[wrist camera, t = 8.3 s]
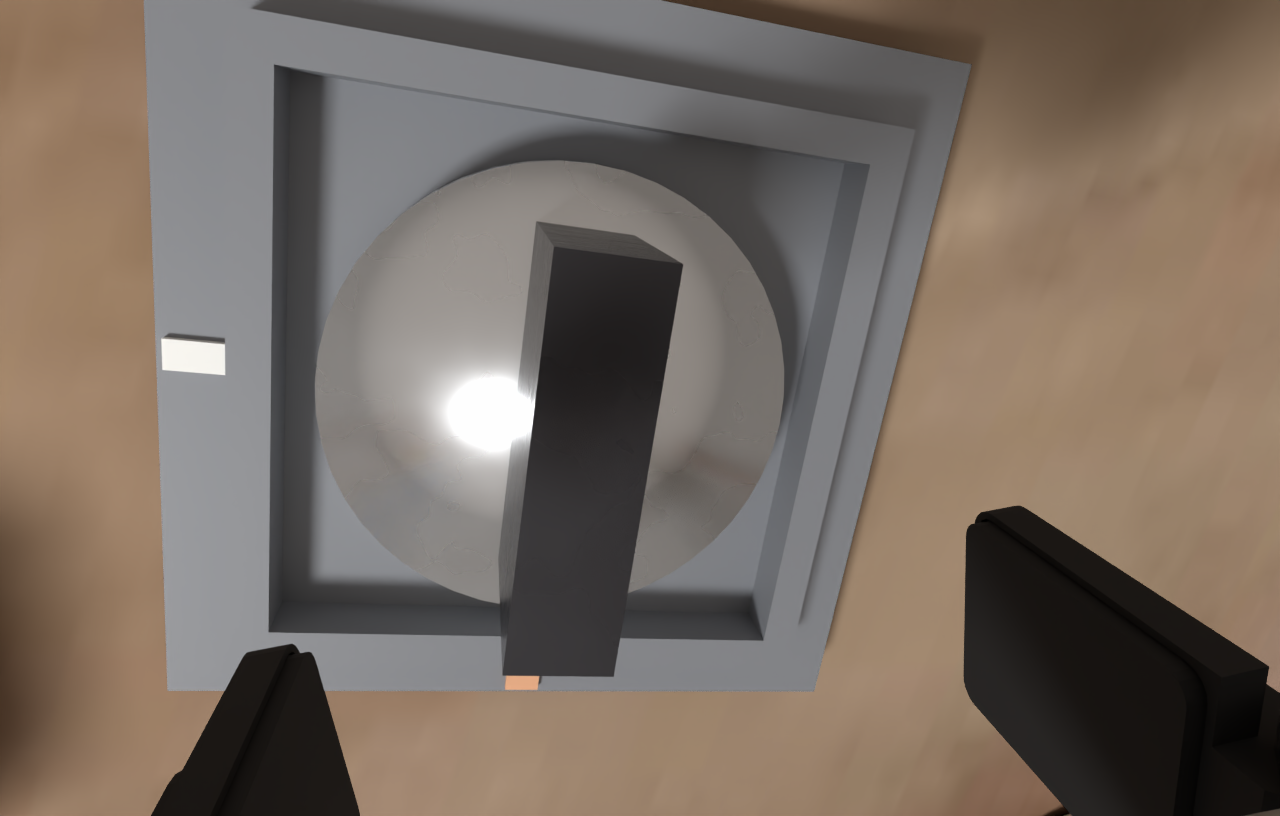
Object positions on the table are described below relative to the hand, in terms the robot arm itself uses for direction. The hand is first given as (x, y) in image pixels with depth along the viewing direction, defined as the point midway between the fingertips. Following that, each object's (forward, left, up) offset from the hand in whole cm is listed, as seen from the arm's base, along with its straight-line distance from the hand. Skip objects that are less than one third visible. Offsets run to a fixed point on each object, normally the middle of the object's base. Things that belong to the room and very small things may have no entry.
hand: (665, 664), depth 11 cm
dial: (+1, 0, -12) cm, 12 cm away
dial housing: (+1, 0, -13) cm, 13 cm away
